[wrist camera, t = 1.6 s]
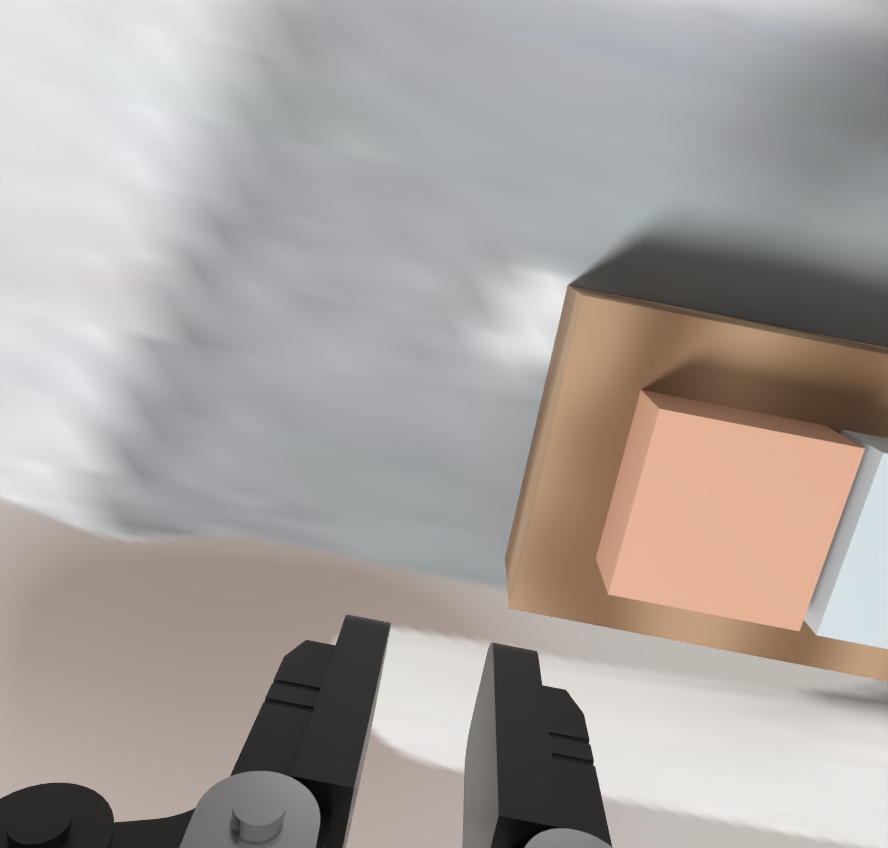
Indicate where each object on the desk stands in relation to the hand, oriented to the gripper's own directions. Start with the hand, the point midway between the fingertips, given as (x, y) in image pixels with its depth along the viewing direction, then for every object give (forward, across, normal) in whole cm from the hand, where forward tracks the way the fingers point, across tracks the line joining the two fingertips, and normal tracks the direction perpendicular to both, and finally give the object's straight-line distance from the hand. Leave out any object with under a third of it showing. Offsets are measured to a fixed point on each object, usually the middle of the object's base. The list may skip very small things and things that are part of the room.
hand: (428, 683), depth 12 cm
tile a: (+13, -8, 0) cm, 16 cm away
